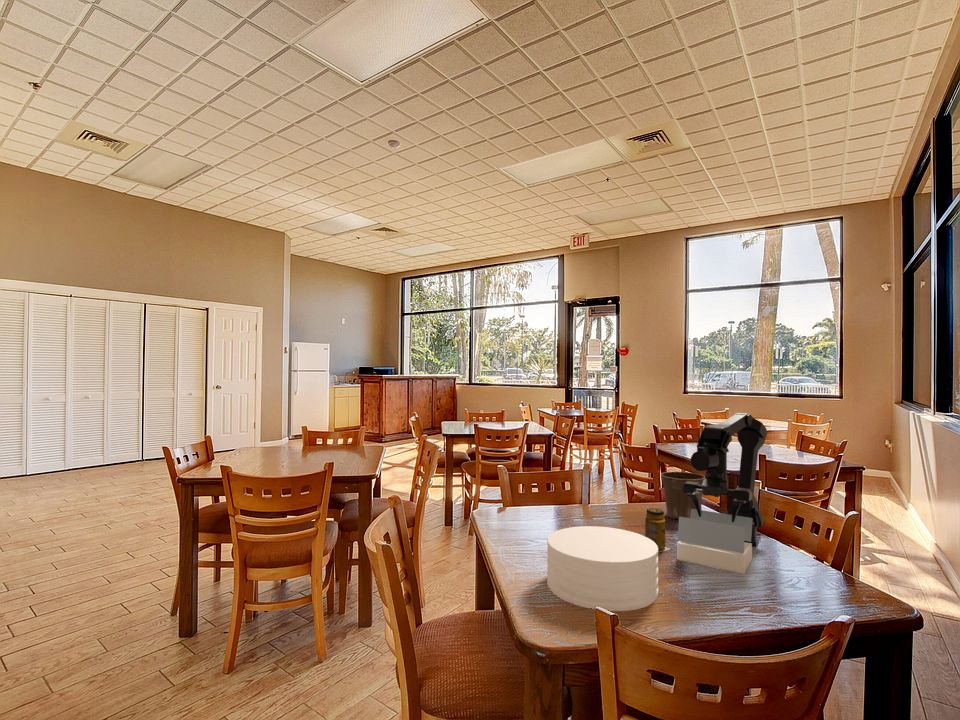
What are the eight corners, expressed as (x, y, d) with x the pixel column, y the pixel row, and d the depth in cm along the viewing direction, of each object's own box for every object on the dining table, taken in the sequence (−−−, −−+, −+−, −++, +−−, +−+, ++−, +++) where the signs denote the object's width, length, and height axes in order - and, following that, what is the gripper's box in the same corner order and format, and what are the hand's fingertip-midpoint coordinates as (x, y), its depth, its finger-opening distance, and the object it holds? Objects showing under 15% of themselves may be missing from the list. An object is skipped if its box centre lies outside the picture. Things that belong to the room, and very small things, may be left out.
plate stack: (682, 595, 127) (682, 549, 128) (598, 622, 113) (598, 570, 114) (603, 559, 152) (603, 521, 152) (526, 578, 138) (526, 535, 138)
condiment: (671, 549, 161) (671, 511, 161) (654, 554, 156) (653, 515, 156) (652, 542, 167) (651, 506, 167) (634, 547, 162) (634, 509, 163)
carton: (688, 547, 162) (688, 532, 162) (751, 560, 151) (751, 543, 151) (677, 559, 151) (677, 542, 151) (744, 574, 141) (744, 556, 141)
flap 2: (688, 530, 161) (688, 530, 162) (750, 541, 151) (751, 541, 151) (691, 508, 164) (691, 509, 165) (752, 518, 154) (752, 518, 154)
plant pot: (652, 512, 204) (652, 471, 204) (689, 510, 207) (689, 470, 207) (675, 523, 188) (675, 480, 188) (714, 521, 191) (714, 478, 191)
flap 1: (743, 553, 141) (743, 553, 141) (678, 540, 152) (677, 540, 151) (744, 527, 143) (744, 527, 142) (679, 516, 153) (679, 516, 153)
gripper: (677, 467, 154) (676, 519, 153) (745, 475, 143) (746, 531, 142) (686, 462, 163) (686, 512, 162) (752, 470, 152) (752, 522, 151)
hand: (716, 519), depth 154 cm, fingers open, 9 cm apart
